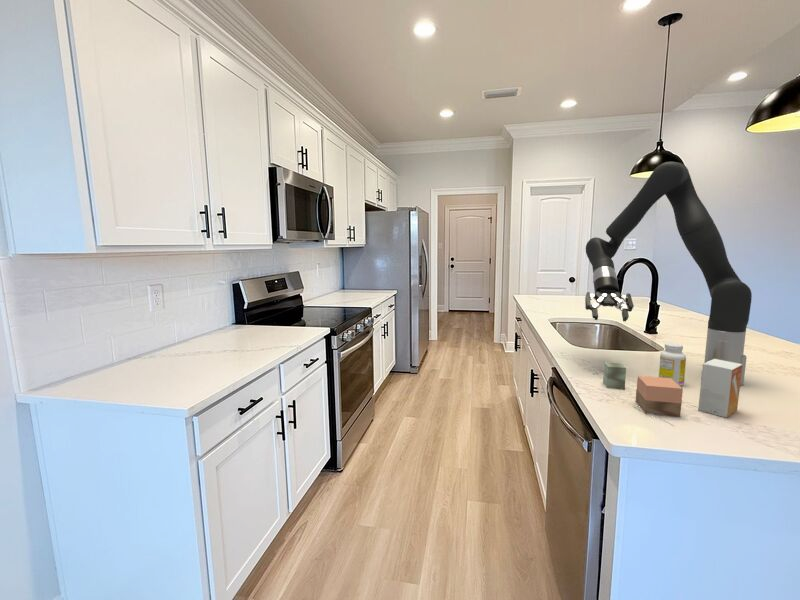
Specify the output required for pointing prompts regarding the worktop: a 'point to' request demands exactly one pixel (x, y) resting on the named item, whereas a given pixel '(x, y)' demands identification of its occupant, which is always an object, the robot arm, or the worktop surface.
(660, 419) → the butter knife
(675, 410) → the tower base block
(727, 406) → the small box
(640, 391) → the tower top block
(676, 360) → the supplement bottle
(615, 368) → the green block
